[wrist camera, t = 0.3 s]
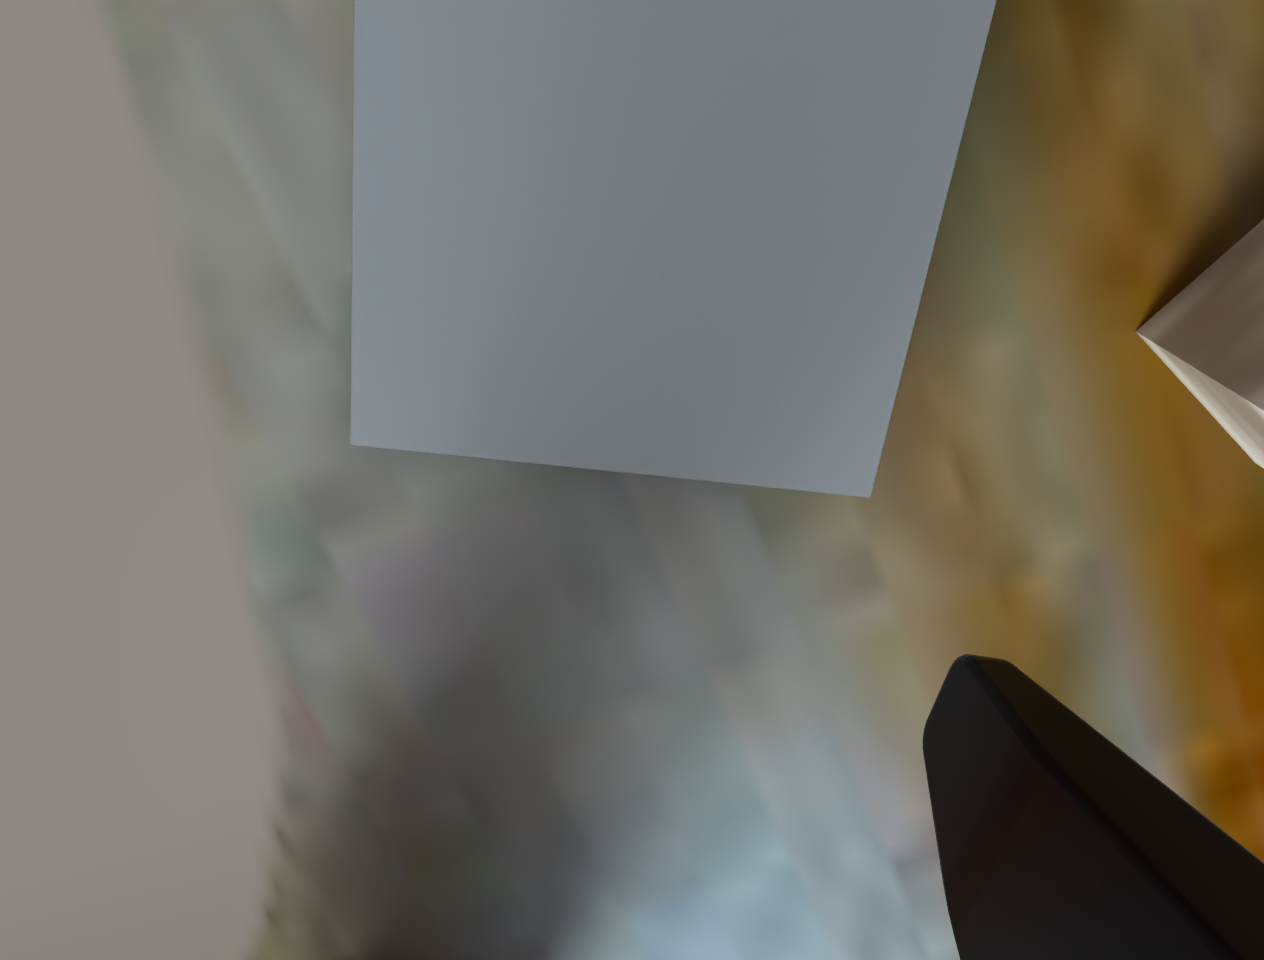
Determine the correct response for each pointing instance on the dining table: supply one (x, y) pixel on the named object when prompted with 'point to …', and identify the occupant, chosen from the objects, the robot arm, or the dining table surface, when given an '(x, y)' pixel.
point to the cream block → (1221, 340)
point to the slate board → (649, 228)
